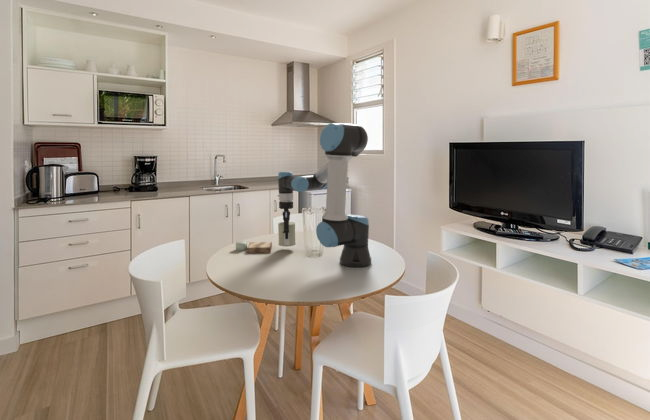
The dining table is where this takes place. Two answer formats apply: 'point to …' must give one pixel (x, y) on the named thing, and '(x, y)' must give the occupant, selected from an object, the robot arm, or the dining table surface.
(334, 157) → the robot arm
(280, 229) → the can
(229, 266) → the dining table surface
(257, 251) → the stand
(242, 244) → the pale green rounded block
